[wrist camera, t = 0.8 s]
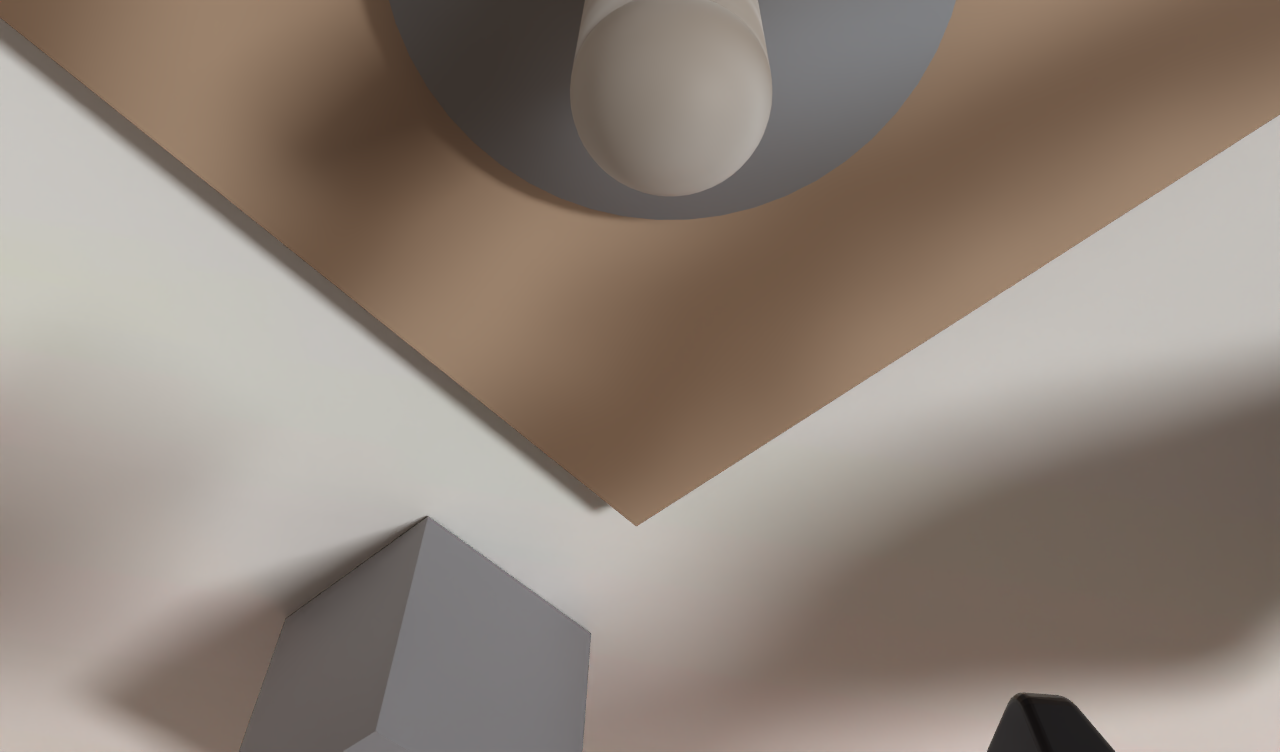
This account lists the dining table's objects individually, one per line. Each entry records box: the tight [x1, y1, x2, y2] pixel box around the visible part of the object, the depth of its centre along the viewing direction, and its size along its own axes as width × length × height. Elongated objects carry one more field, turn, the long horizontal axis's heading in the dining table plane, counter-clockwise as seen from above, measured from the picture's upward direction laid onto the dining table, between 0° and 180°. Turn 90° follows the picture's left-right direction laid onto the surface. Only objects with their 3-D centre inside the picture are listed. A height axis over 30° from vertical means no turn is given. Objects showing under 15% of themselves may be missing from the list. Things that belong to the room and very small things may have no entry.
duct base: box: [0, 0, 1280, 526], centre depth 16 cm, size 18×18×8 cm
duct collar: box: [239, 516, 591, 752], centre depth 27 cm, size 6×6×6 cm
